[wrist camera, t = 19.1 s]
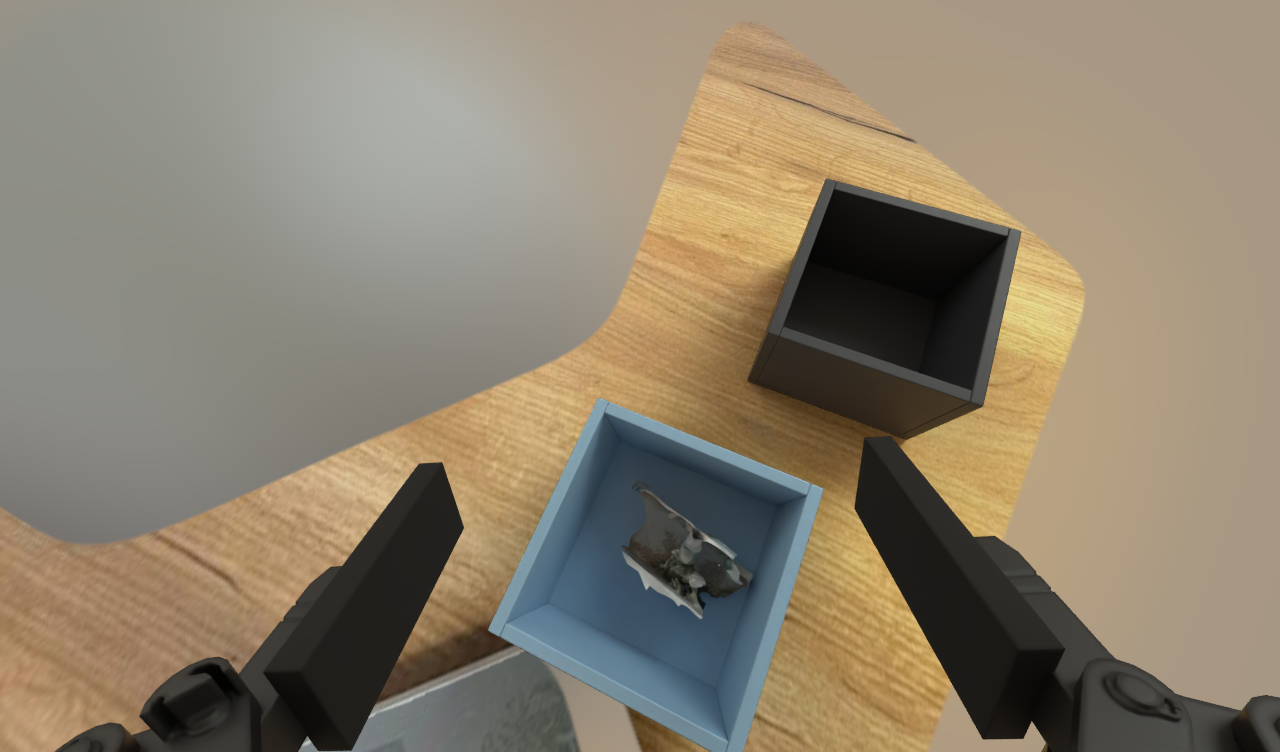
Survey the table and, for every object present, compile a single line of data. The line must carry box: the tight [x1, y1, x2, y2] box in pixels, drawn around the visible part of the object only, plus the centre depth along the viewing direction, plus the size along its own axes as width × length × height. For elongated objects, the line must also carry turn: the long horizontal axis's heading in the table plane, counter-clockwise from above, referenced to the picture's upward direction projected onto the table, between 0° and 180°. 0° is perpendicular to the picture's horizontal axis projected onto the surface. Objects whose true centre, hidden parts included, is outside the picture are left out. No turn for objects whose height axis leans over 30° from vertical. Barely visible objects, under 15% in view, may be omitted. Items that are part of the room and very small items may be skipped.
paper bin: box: [488, 398, 823, 752], centre depth 24 cm, size 11×11×8 cm
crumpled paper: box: [621, 481, 753, 619], centre depth 24 cm, size 4×8×7 cm, turn 53°
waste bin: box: [747, 179, 1021, 440], centre depth 27 cm, size 10×10×8 cm
